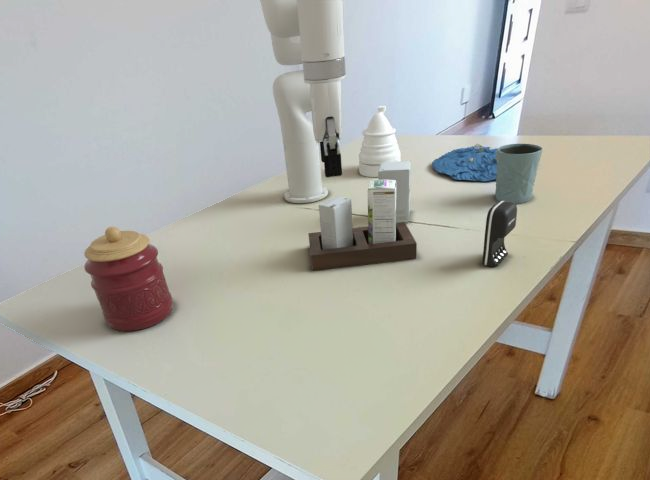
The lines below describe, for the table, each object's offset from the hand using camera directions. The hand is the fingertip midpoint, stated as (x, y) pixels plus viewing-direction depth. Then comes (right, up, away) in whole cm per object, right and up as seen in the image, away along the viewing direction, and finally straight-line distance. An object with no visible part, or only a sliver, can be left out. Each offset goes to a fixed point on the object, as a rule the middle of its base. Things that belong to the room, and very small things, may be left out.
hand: (331, 168), depth 98 cm
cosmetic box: (+2, -15, +10) cm, 19 cm away
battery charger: (+33, -18, +1) cm, 38 cm away
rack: (+7, -15, +10) cm, 19 cm away
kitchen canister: (-37, -29, -2) cm, 47 cm away
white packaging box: (+17, -3, +25) cm, 30 cm away
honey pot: (+17, +20, +58) cm, 63 cm away
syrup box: (+12, -14, +10) cm, 21 cm away
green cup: (+47, +3, +28) cm, 55 cm away
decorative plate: (+48, +19, +51) cm, 72 cm away
